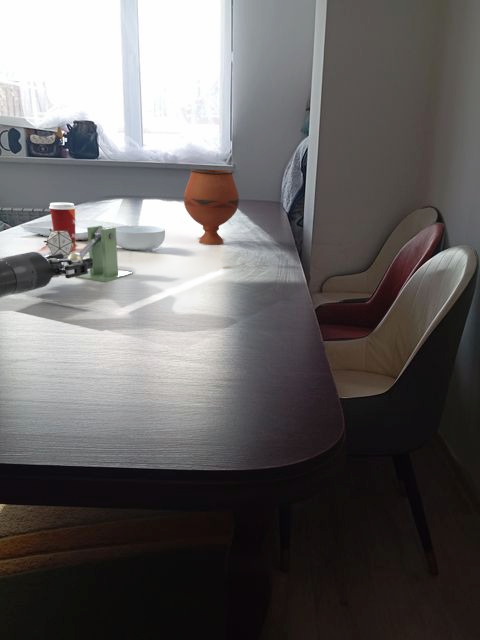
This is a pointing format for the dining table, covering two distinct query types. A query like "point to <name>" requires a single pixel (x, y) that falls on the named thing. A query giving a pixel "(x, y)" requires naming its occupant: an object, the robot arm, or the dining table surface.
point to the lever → (87, 247)
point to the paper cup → (64, 218)
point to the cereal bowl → (139, 237)
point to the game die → (60, 242)
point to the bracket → (104, 256)
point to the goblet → (211, 201)
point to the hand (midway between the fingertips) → (76, 260)
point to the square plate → (80, 227)
